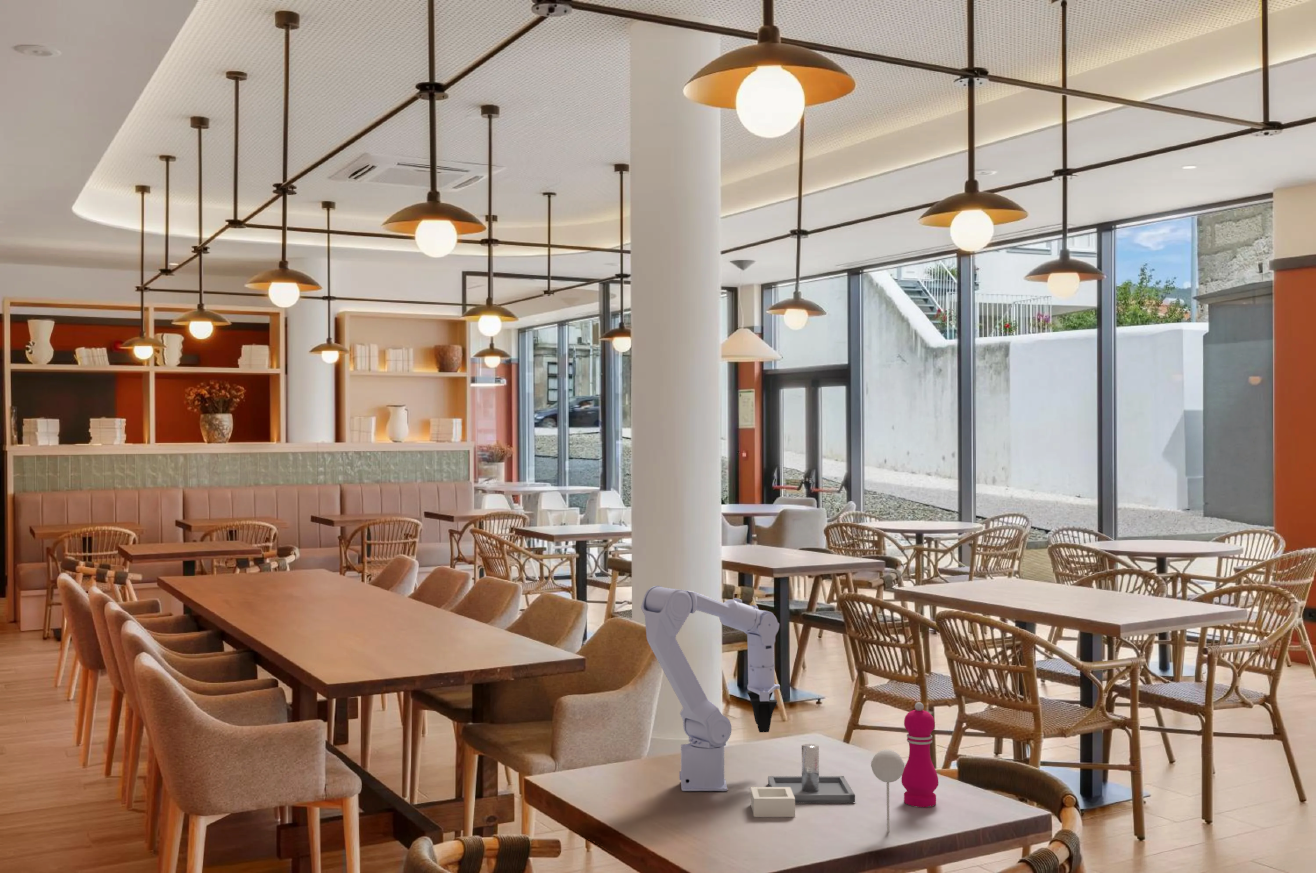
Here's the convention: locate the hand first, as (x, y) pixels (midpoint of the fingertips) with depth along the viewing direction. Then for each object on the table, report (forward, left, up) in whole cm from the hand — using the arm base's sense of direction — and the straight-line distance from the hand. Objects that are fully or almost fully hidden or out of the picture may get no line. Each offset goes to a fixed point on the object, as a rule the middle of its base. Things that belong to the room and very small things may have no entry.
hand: (762, 727), depth 248 cm
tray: (+9, -13, -10) cm, 19 cm away
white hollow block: (0, -25, -10) cm, 27 cm away
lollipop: (+20, -38, -11) cm, 44 cm away
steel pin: (+9, -13, -10) cm, 19 cm away
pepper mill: (+30, -20, -11) cm, 37 cm away
